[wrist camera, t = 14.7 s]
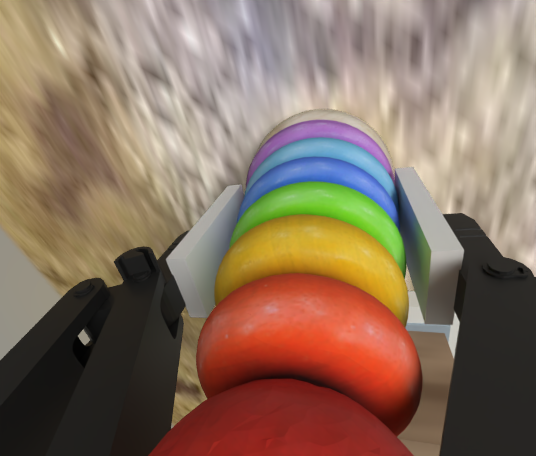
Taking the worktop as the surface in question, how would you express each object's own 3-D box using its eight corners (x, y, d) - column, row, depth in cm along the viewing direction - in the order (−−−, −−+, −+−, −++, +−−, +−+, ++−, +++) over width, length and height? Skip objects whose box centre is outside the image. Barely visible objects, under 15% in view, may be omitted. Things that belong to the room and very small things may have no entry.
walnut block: (295, 322, 22) (279, 420, 16) (444, 333, 20) (488, 452, 14) (305, 400, 27) (295, 497, 21) (426, 416, 25) (452, 531, 19)
